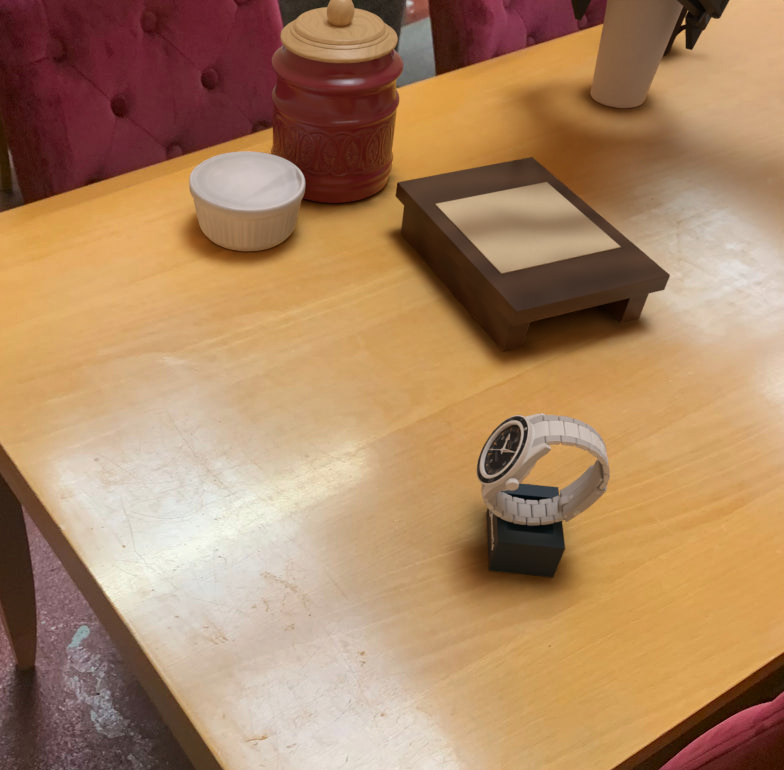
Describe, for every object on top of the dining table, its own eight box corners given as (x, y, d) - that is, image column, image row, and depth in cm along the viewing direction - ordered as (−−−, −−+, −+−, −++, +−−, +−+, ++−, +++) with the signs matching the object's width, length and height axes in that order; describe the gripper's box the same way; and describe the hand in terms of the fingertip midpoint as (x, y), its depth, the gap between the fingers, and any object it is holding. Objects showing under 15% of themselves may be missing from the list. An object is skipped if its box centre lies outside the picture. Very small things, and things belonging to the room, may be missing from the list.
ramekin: (297, 263, 85) (299, 213, 81) (182, 254, 86) (178, 204, 82) (308, 203, 92) (310, 154, 88) (202, 195, 93) (199, 146, 89)
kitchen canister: (394, 207, 92) (416, 24, 79) (269, 205, 92) (270, 21, 79) (386, 147, 101) (405, -27, 87) (272, 145, 101) (273, -30, 87)
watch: (459, 507, 64) (488, 391, 56) (572, 519, 64) (618, 403, 56) (459, 568, 61) (490, 453, 52) (580, 581, 60) (630, 467, 52)
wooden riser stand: (651, 323, 79) (670, 274, 75) (504, 360, 76) (516, 310, 72) (521, 202, 93) (532, 155, 89) (391, 228, 89) (397, 181, 85)
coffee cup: (602, 73, 114) (640, -61, 103) (671, 96, 110) (718, -41, 99) (562, 96, 110) (597, -41, 98) (632, 121, 105) (677, -19, 94)
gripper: (489, -88, 90) (525, 27, 109) (735, -32, 80) (727, 83, 99) (526, -162, 89) (555, -33, 108) (780, -115, 79) (763, 18, 98)
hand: (637, 23), depth 104 cm, fingers open, 13 cm apart
